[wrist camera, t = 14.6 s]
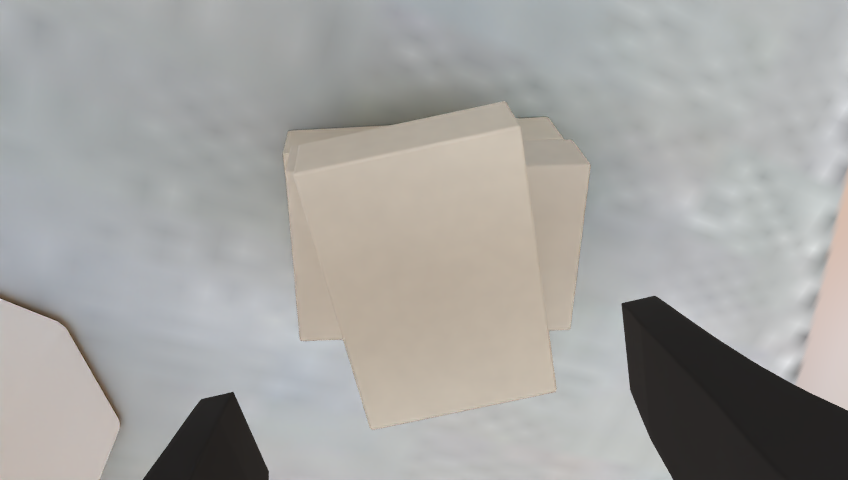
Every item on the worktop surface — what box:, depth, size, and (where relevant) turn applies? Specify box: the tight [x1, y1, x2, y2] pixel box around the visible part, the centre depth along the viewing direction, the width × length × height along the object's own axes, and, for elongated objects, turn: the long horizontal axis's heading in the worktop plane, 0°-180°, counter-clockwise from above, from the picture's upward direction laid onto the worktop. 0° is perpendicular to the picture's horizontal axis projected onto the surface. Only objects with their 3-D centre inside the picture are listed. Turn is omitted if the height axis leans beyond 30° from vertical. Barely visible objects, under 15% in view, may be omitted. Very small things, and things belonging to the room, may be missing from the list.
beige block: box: [283, 117, 591, 341], centre depth 21 cm, size 8×5×4 cm
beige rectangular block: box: [293, 101, 557, 430], centre depth 18 cm, size 8×5×2 cm, turn 11°
